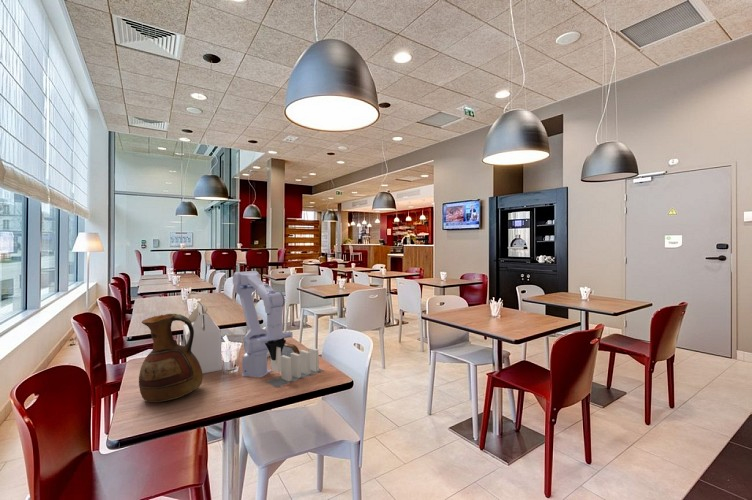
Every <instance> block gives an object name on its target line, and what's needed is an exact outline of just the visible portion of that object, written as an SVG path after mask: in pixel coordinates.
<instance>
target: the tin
mask: <svg viewBox="0 0 752 500" xmlns="http://www.w3.org/2000/svg"><path fill="white" fill-rule="evenodd" d="M293 352H294V353H297V354H300V350H299V348H298V346H296V345H295V344H293V343H288V342H286V343H285V345H284V347H283V349H282V353H281V356H283V355H285V356H288V357H290V353H293Z"/></svg>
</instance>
